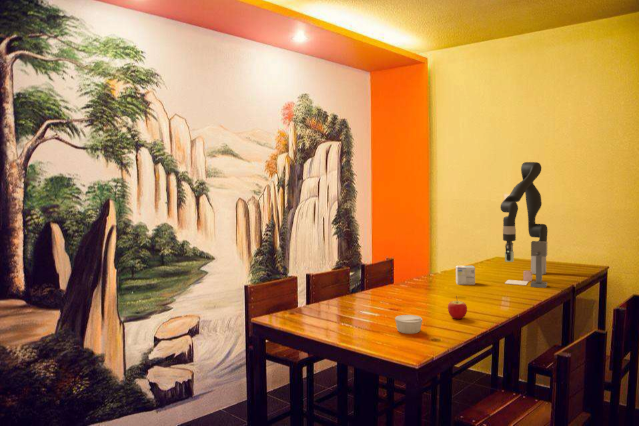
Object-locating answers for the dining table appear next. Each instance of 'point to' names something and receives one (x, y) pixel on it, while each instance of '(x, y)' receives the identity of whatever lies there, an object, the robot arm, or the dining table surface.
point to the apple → (457, 309)
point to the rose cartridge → (527, 275)
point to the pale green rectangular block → (511, 257)
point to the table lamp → (539, 261)
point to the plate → (516, 282)
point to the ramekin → (408, 324)
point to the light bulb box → (465, 275)
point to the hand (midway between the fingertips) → (509, 259)
